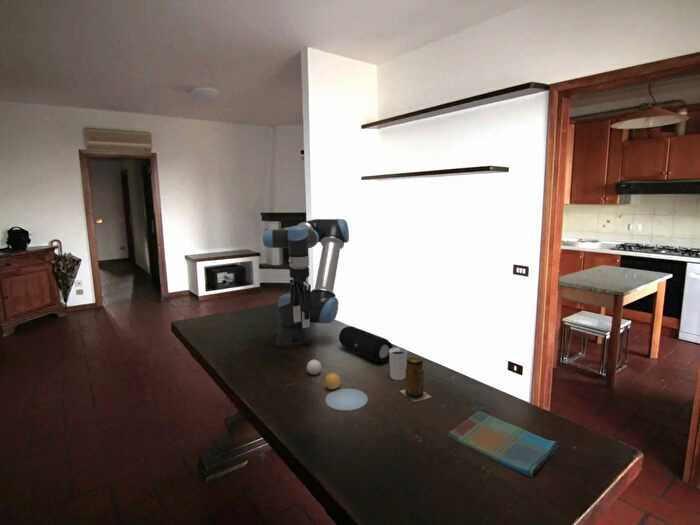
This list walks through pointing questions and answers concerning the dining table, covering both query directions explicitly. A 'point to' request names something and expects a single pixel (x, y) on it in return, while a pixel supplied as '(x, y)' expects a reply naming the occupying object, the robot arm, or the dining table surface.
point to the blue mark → (346, 399)
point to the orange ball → (332, 381)
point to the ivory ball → (314, 367)
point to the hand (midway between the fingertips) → (301, 324)
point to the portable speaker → (365, 344)
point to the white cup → (398, 363)
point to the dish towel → (504, 443)
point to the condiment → (415, 380)
